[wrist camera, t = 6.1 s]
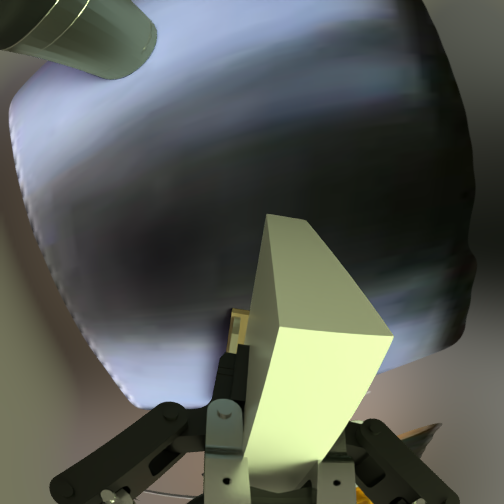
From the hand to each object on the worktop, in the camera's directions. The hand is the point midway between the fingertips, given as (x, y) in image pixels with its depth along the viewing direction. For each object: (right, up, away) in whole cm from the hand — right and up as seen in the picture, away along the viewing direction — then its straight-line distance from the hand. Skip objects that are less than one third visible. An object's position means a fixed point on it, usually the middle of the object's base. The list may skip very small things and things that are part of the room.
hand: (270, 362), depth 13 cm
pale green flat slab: (0, +2, +5) cm, 6 cm away
